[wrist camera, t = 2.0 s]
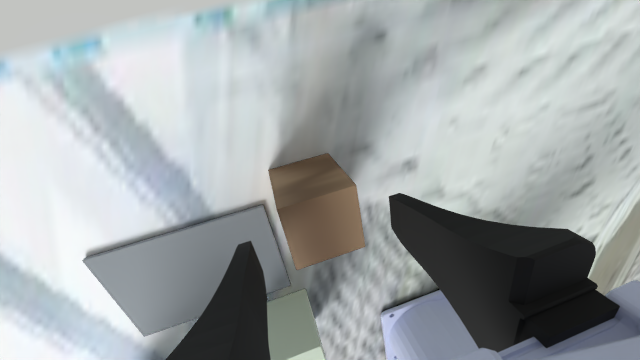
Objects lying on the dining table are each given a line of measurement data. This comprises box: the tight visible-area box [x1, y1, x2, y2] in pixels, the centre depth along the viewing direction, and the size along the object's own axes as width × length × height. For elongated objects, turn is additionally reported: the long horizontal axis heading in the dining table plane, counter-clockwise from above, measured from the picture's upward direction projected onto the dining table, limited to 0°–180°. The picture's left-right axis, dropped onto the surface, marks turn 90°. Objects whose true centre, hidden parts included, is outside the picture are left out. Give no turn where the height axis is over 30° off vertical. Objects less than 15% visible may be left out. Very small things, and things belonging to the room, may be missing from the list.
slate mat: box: [83, 205, 291, 337], centre depth 18 cm, size 11×8×1 cm
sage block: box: [267, 289, 326, 360], centre depth 20 cm, size 4×4×5 cm
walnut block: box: [268, 153, 365, 270], centre depth 16 cm, size 4×4×5 cm
